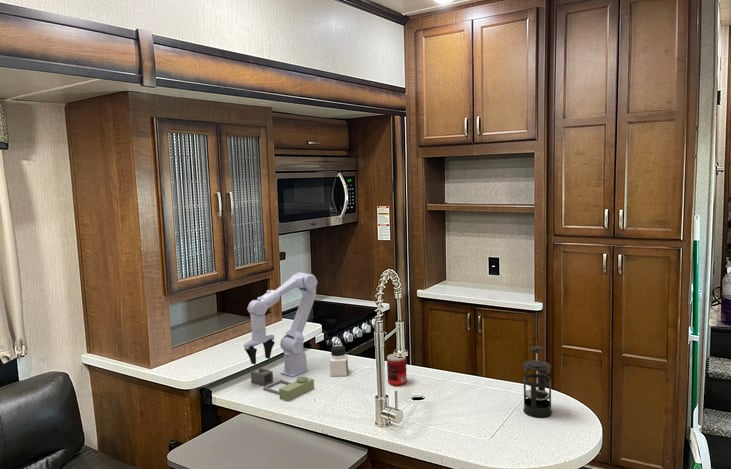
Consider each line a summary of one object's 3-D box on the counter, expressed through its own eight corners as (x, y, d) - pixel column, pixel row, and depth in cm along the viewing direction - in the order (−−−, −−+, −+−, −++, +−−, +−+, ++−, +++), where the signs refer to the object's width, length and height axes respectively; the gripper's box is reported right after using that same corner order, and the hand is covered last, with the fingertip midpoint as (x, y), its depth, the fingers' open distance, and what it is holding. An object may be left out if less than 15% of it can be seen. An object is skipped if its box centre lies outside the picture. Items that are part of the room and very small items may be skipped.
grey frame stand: (285, 380, 220) (284, 368, 220) (314, 388, 210) (313, 376, 209) (259, 391, 210) (258, 379, 209) (288, 401, 199) (287, 388, 198)
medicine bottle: (347, 376, 222) (345, 348, 220) (330, 376, 222) (328, 349, 220) (348, 370, 229) (346, 343, 227) (331, 370, 229) (330, 344, 227)
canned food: (407, 378, 216) (406, 352, 215) (406, 386, 208) (405, 359, 207) (388, 378, 216) (387, 353, 215) (387, 386, 209) (386, 359, 207)
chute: (251, 382, 220) (250, 371, 219) (260, 379, 223) (259, 367, 223) (264, 386, 215) (263, 375, 214) (273, 382, 218) (272, 371, 218)
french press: (547, 421, 174) (546, 354, 171) (519, 415, 179) (518, 350, 176) (556, 407, 183) (555, 343, 181) (529, 402, 188) (528, 340, 186)
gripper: (265, 323, 225) (267, 354, 226) (238, 332, 213) (240, 364, 215) (276, 325, 220) (278, 357, 222) (249, 334, 209) (251, 367, 210)
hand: (260, 360), depth 218 cm, fingers open, 7 cm apart
